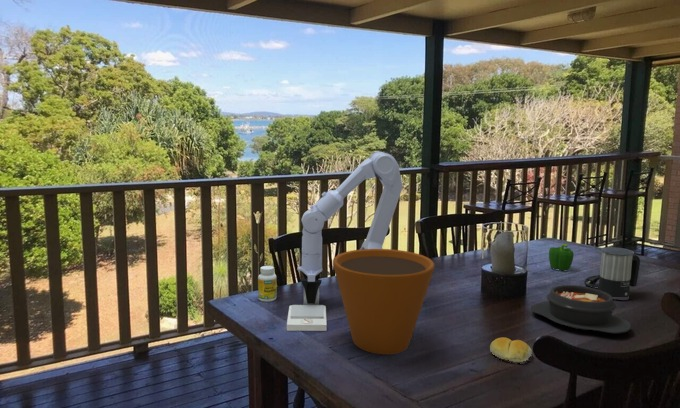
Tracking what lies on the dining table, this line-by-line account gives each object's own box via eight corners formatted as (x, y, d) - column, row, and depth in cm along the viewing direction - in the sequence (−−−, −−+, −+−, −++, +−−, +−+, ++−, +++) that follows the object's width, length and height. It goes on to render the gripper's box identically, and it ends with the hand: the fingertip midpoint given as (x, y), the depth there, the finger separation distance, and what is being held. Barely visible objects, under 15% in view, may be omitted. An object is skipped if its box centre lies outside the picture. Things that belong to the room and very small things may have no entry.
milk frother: (622, 303, 158) (627, 255, 156) (570, 290, 170) (574, 245, 168) (640, 294, 168) (645, 248, 165) (590, 282, 179) (594, 239, 177)
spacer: (318, 302, 154) (319, 282, 153) (319, 307, 149) (319, 287, 148) (303, 302, 154) (304, 282, 153) (303, 307, 149) (303, 287, 148)
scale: (325, 311, 147) (325, 303, 146) (326, 330, 133) (326, 322, 133) (289, 310, 146) (289, 303, 146) (286, 330, 132) (286, 322, 132)
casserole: (518, 319, 144) (521, 289, 143) (546, 303, 157) (549, 276, 156) (617, 347, 127) (621, 314, 126) (639, 327, 140) (643, 296, 139)
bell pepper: (545, 266, 199) (547, 240, 197) (568, 267, 198) (570, 241, 196) (550, 272, 191) (553, 245, 189) (574, 273, 190) (577, 246, 188)
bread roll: (495, 345, 127) (496, 329, 126) (533, 355, 122) (535, 338, 121) (484, 358, 120) (485, 341, 119) (524, 368, 115) (526, 351, 115)
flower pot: (448, 356, 120) (453, 271, 117) (348, 368, 113) (350, 278, 110) (406, 318, 142) (409, 246, 139) (320, 326, 135) (322, 251, 132)
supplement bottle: (271, 294, 160) (271, 264, 158) (279, 300, 155) (279, 268, 154) (255, 297, 157) (255, 266, 155) (263, 303, 152) (262, 270, 151)
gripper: (298, 246, 156) (298, 290, 158) (296, 258, 142) (296, 307, 144) (322, 246, 156) (321, 290, 158) (323, 259, 142) (322, 307, 144)
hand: (311, 298), depth 151 cm, fingers open, 7 cm apart
